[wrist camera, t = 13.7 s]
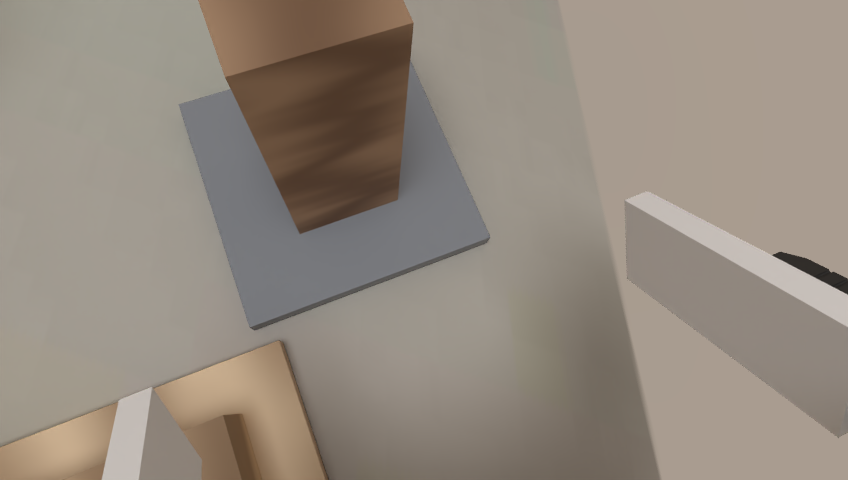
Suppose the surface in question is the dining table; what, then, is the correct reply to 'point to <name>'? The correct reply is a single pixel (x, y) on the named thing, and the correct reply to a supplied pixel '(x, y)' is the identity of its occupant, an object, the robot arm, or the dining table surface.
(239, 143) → the rubber mat
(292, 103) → the walnut block
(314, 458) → the oak pocket board
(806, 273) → the robot arm
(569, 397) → the dining table surface
